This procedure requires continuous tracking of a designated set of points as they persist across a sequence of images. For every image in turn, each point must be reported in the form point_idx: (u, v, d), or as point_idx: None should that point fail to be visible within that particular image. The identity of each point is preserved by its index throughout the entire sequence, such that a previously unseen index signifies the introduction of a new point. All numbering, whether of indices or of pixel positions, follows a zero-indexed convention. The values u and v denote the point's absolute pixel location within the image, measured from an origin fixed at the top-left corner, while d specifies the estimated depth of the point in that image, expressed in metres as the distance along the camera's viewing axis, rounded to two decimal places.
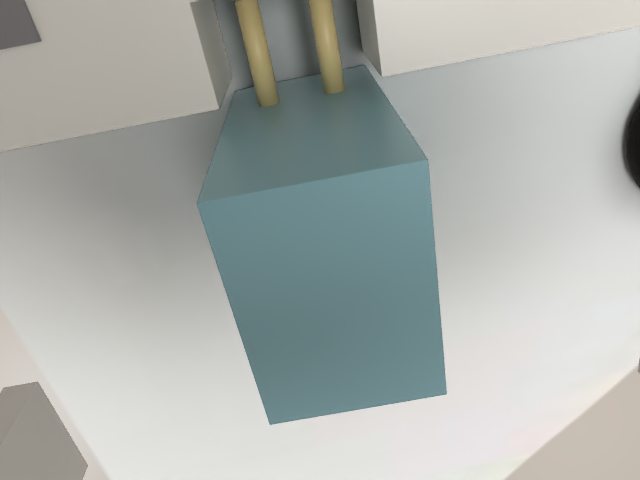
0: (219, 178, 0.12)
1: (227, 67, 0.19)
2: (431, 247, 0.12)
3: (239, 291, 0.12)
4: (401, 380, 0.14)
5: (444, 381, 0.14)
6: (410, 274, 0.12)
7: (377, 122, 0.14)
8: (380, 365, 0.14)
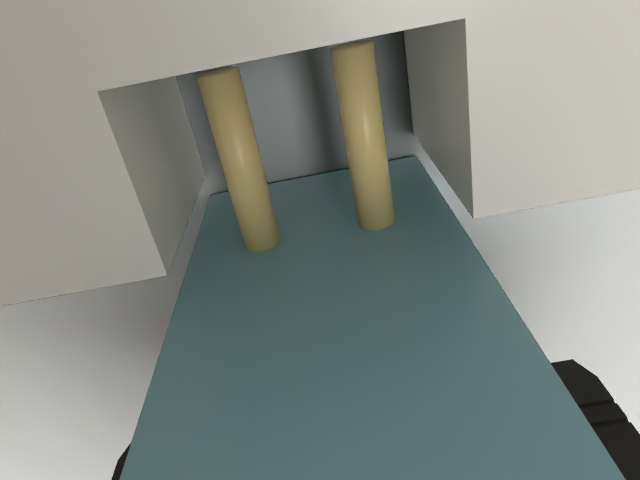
0: None
1: (196, 164, 0.12)
2: None
3: None
4: None
5: None
6: None
7: (492, 358, 0.06)
8: None
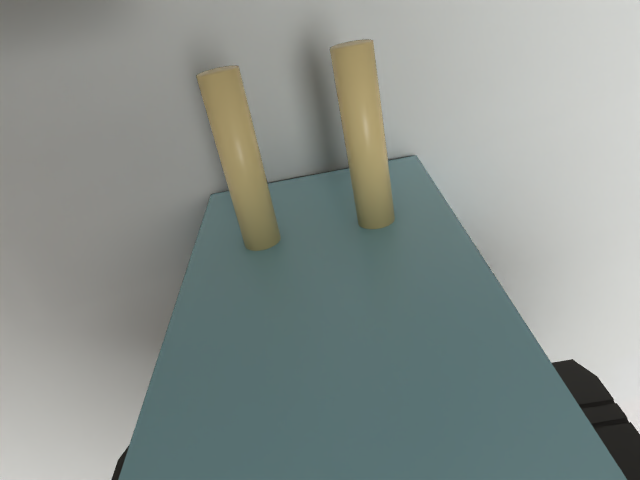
0: None
1: None
2: None
3: None
4: None
5: None
6: None
7: (491, 356, 0.06)
8: None
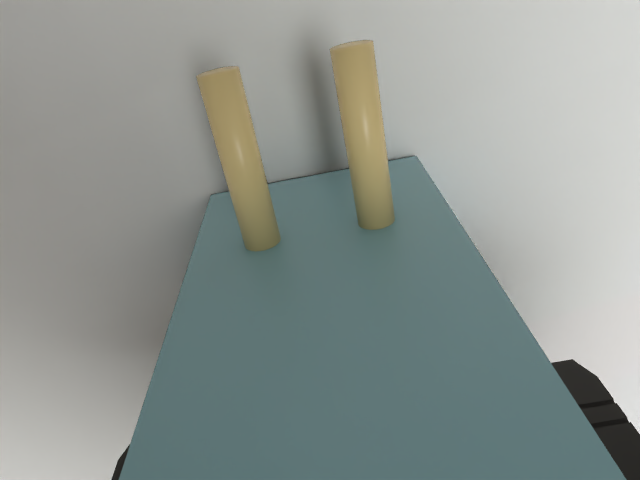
0: None
1: None
2: None
3: None
4: None
5: None
6: None
7: (491, 357, 0.06)
8: None
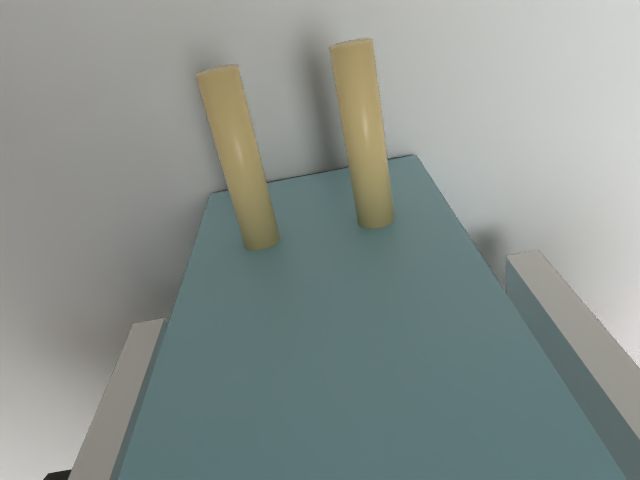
0: None
1: None
2: None
3: None
4: None
5: None
6: None
7: (491, 357, 0.06)
8: None
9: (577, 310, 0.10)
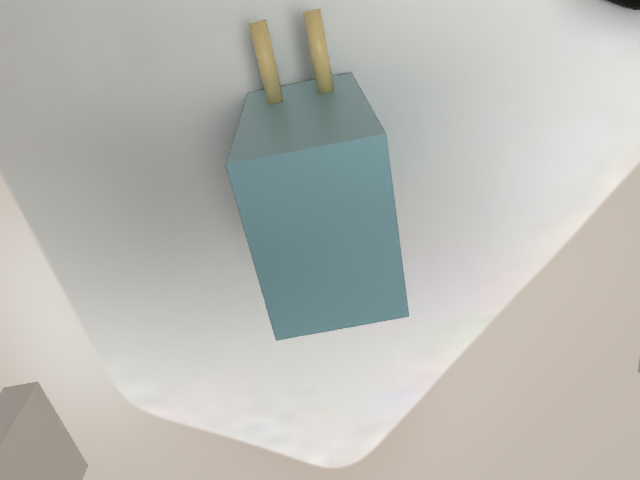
0: (240, 150, 0.17)
1: None
2: (391, 198, 0.17)
3: (254, 231, 0.17)
4: (374, 304, 0.19)
5: (406, 305, 0.19)
6: (377, 219, 0.17)
7: (355, 112, 0.19)
8: (358, 291, 0.19)
9: None
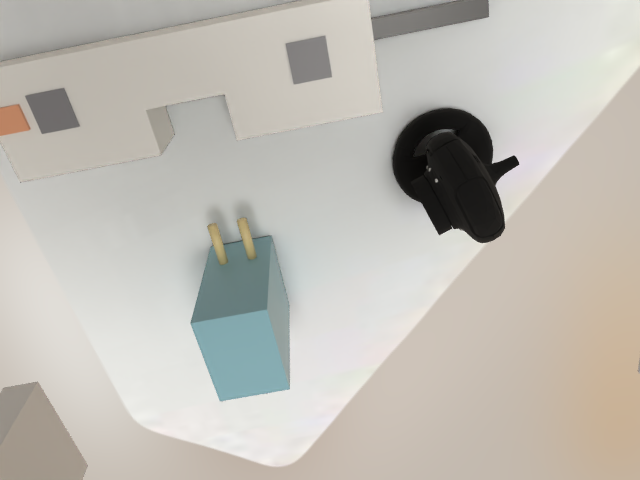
0: (198, 311, 0.34)
1: (170, 130, 0.37)
2: (273, 336, 0.34)
3: (205, 351, 0.35)
4: (270, 383, 0.36)
5: (287, 384, 0.36)
6: (267, 345, 0.35)
7: (259, 284, 0.36)
8: (261, 377, 0.36)
9: None
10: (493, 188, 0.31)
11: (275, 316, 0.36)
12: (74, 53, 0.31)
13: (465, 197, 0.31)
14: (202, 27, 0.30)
